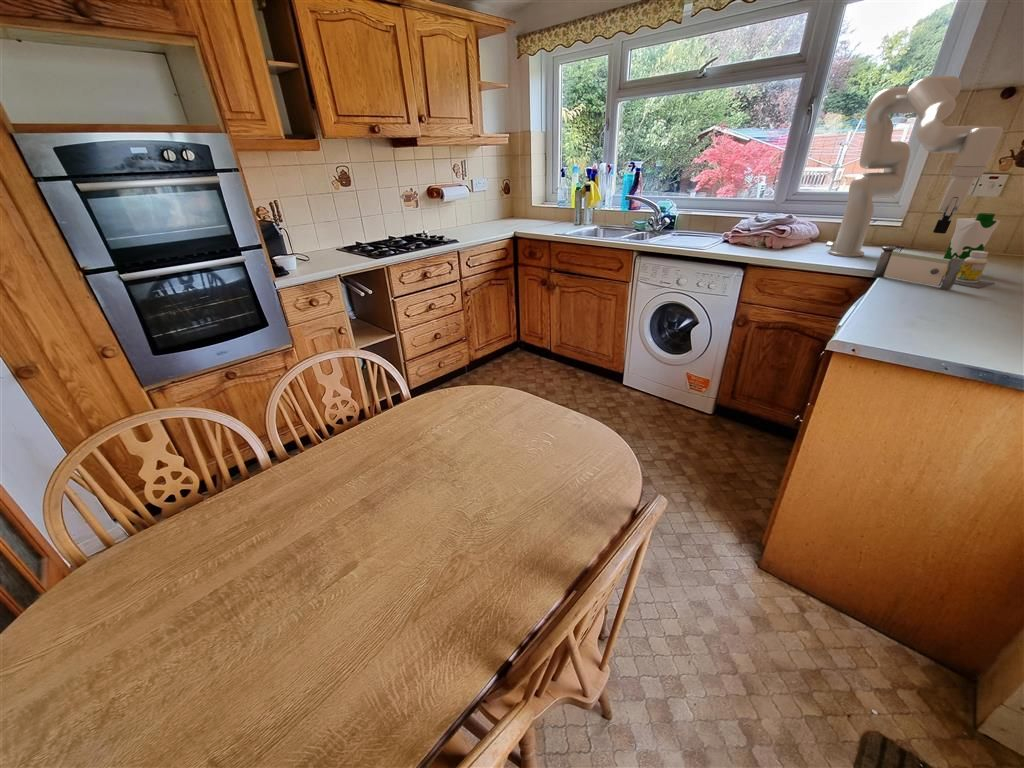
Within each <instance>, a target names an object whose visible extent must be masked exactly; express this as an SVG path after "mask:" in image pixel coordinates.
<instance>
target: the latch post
mask: <svg viewBox="0 0 1024 768" xmlns="http://www.w3.org/2000/svg"><path fill="white" fill-rule="evenodd" d="M963 261H964V259H960V258H954V259H953V260H952V262H951V264H950V267H949V268H948V267H946V268H944V271H943V273H942V275H943V276H945V277H944V279H943V282H942V283H941V286H939V287H940V288H939V289H940V290H945V291H950V290H952V287H953V285H954V284H953V283H954V281H955V279H956V277H957V275H958V272H959V270H960V268H961V266H962V264H963Z"/></svg>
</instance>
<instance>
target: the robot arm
mask: <svg viewBox="0 0 1024 768" xmlns="http://www.w3.org/2000/svg"><path fill="white" fill-rule="evenodd" d="M961 89H962V81H961V79H960V78H959V77H957V76H956V75H955V76H954V75H941V76H940V75H939V76H938V75H935V76H934V75H933V76H925V77H922V78H919V79H918V80H916V81H915V82H913V83H912V84H911V85H908V86H907V85H906V86H905V85H904V86H893V87H887V88H884V89H881V90H880V91H878V92H877V93H876V94H875V95H874V96H873V97H872V99H871V101H870V102H869V103H868V106H867V108H866V112H865V132H864V138H863V142H862V146H861V152H860V157H859V165H860V168H861V169H864V170H883V172H865V173H862V174H859V175H857V176H856V177H854V178H853V179H852V180H851V182H850V185H849V188H848V197H847V204H846V207H845V211H844V213H843V218H842V220H841V224H840V226H839V227H840V228H839V230H838V233H837V237H836V239H835V241H827V242H826V244H825V247H830V249H829V250H828V254H830V255H833V256H839V257H849V258H850V257H852V258H855V257H863V256H864V255H865V252H864V251H863V250H862V248H863V244H864V242H865V238H866V236H867V232H868V229H869V227H870V223H871V222H872V217H873V215H874V211H875V206H874V202H873V200H874V199H889V198H892V197H894V196H896V195H898V193H900V191H901V189H902V187H903V185H904V181H905V177H906V172H907V169H908V164H909V161H910V157H911V148H910V146H909V144H908V143H907V142H905V141H899V140H898V141H892V136H893V132H894V125H893V124H894V123H893V120H892V118H891V117H890V115H892V114H895V115H896V114H914V113H915V114H916V115H917V116H918V117H919V119H920V123H919V125H918V128H917V139H918V141H919V143H920V144H921V145H922V147H923V148H924V150H926V151H927V152H929V153H930V154H949V153H950V154H958V153H959V154H958V155H957V158H956V160H955V162H954V165H953V166H952V169H951V171H950V173H949V175H948V177H949V178H952V179H951V180H950V183H949V185H948V186H947V187H946V188H947V189H946V191H945V193H944V196H943V198H942V200H941V202H940V205H939V207H938V208H937V209H938V211H939V212H941V210H943V211H942V213H941V216H940V218H939V219H938V220H937V222H936V225H935V227H934V229H933V231H932V233H934V234H946V233H947V231H948V229H949V227H950V225H951V222H952V219H953V217H954V214H955V213H957V212H959V210H960V208H961V207H962V205H963V204H964V202H965V201H966V198H967V196H968V195H969V193H970V190H971V189H972V186H973V185H974V182H975V180H976V179H982V177H983V174H984V173H985V170H986V169H987V167H988V164H989V162H990V160H991V158H992V156H993V154H994V152H995V150H996V148H997V146H998V143H999V142H1000V140H1001V137H1002V135H1003V132H1004V128H1003V127H1001V126H979V125H949V126H946V125H945V124H944V123H943V122H942V121H944V120H945V119H947V118H948V117H949V116H950V115H951V114H952V113H953V112H954V111H955V108H956V105H957V101H956V98H957V97H958V96H959V93H960V92H961Z"/></svg>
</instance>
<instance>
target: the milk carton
mask: <svg viewBox="0 0 1024 768" xmlns="http://www.w3.org/2000/svg"><path fill="white" fill-rule="evenodd" d="M995 216H996V214H995V213H990V212H989V213H988V212H979V213H978V214H977V216H976V217H971V218H970V217H969V218H968V217H967V218H956V224H955V229H954V233H953V236H952V238H951V240H950V243H949V245H948V247H947V250H946V252H945V254H944V256H943V258H944V259H950V260H953V259H954V258H960V259H964V260H965V259H966V258H968V257H970V253H971V251H985V249H986V246H987V245H988V242H989V241H990V238H991V236H992V234H993V232H994V231H995V230H996V228H997V227H998V225H999V224H1000V223H1001V220H998V219H997V220H996V219H994V218H995ZM951 262H952V261H951ZM963 262H964V261H963ZM950 264H951V263H950ZM949 267H950V265H949ZM949 267H948V268H949ZM961 267H962V266H961ZM960 269H961V268H960ZM959 271H960V270H959ZM958 273H959V272H958Z"/></svg>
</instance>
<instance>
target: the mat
mask: <svg viewBox="0 0 1024 768" xmlns="http://www.w3.org/2000/svg"><path fill="white" fill-rule="evenodd" d="M956 278H957V277H956ZM942 282H943V281H942ZM957 284H958V285H957ZM995 284H996V282H991V281H986V280H981V279H979V280H978V282H977V283H965V282H960V281H957V280H956V279H955V281H954V283H953V285H957V286H964V287H968V288H973V289H974V288H975V289H980V288H984V287H989V286H992V285H995Z"/></svg>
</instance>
